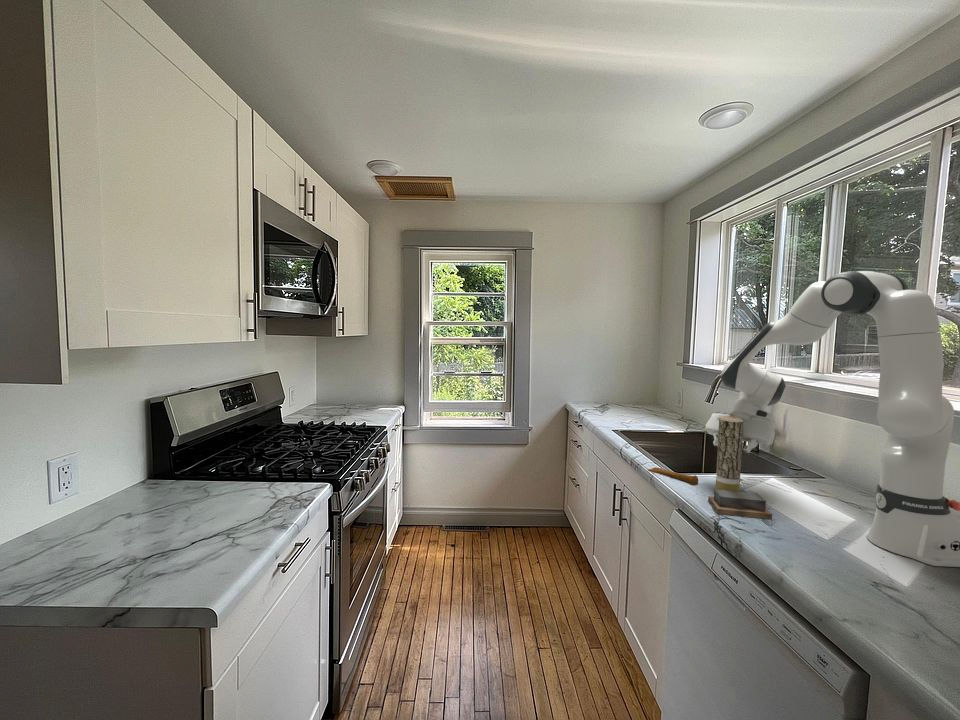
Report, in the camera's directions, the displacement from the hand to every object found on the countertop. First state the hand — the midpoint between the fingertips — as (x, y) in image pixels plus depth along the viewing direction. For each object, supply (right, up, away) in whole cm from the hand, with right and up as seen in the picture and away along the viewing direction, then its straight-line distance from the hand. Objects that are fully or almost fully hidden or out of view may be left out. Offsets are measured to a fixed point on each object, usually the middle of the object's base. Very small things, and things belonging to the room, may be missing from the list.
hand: (730, 448), depth 141 cm
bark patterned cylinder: (-1, -15, +1) cm, 15 cm away
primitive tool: (-12, -14, +17) cm, 25 cm away
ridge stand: (-5, -16, -13) cm, 21 cm away
